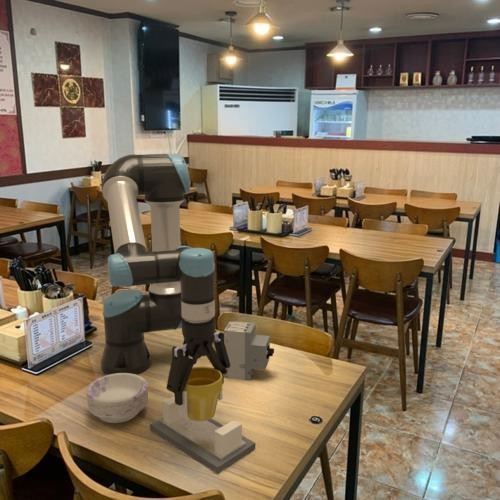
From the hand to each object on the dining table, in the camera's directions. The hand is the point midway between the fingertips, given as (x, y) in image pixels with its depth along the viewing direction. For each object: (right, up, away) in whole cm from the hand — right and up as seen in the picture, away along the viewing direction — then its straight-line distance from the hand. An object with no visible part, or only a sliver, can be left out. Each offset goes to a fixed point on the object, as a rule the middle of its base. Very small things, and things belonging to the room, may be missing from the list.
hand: (200, 406), depth 120 cm
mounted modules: (0, -6, +2) cm, 6 cm away
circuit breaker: (+12, -1, +34) cm, 36 cm away
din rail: (0, -7, +2) cm, 7 cm away
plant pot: (0, -2, 0) cm, 2 cm away
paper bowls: (-22, -6, +13) cm, 27 cm away
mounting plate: (0, -8, +2) cm, 9 cm away
